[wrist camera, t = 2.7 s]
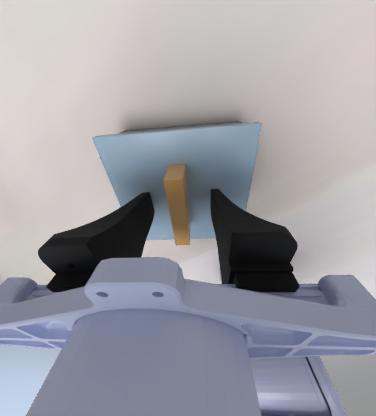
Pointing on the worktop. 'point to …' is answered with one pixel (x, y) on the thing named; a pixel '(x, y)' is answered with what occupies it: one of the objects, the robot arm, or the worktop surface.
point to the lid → (182, 173)
